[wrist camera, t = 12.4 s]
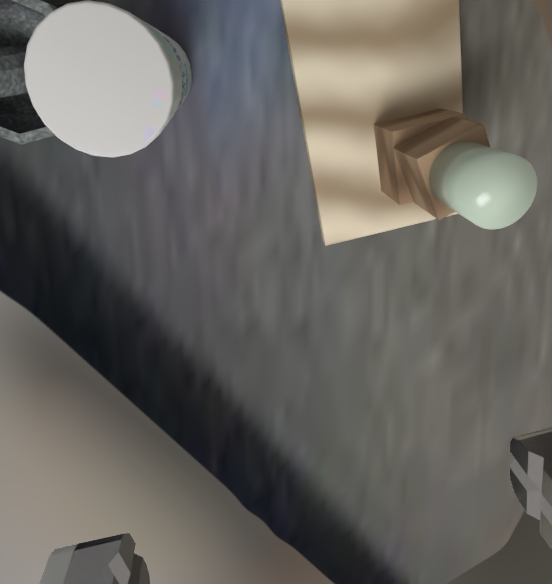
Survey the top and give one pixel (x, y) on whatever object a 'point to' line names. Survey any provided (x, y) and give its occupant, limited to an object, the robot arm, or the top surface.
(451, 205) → the canister
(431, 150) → the top block
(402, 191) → the base block
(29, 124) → the mortar and pestle
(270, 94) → the top surface
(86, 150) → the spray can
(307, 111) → the board
